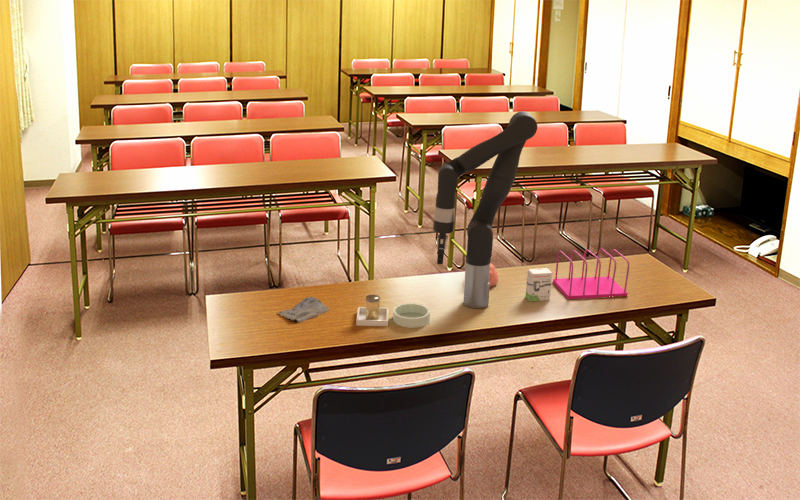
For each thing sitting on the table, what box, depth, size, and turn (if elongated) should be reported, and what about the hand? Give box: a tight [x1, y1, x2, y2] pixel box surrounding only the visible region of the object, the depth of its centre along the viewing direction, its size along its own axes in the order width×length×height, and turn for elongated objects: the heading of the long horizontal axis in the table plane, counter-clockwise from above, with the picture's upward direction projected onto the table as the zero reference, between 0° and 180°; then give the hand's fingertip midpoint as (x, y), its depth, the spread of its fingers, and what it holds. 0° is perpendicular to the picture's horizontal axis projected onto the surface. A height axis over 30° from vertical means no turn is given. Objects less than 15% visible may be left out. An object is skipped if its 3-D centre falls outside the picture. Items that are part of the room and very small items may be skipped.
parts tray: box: [355, 306, 389, 327], centre depth 259 cm, size 11×11×2 cm
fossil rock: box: [277, 296, 330, 323], centre depth 265 cm, size 18×15×2 cm
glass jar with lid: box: [365, 294, 381, 320], centre depth 257 cm, size 5×5×8 cm
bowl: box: [392, 302, 431, 329], centre depth 258 cm, size 13×13×4 cm
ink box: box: [524, 267, 553, 302], centre depth 278 cm, size 9×5×12 cm, turn 102°
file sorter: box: [552, 248, 630, 300], centre depth 287 cm, size 17×25×16 cm
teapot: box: [489, 262, 499, 288], centre depth 293 cm, size 12×18×10 cm
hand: (440, 260), depth 267 cm, fingers open, 8 cm apart
